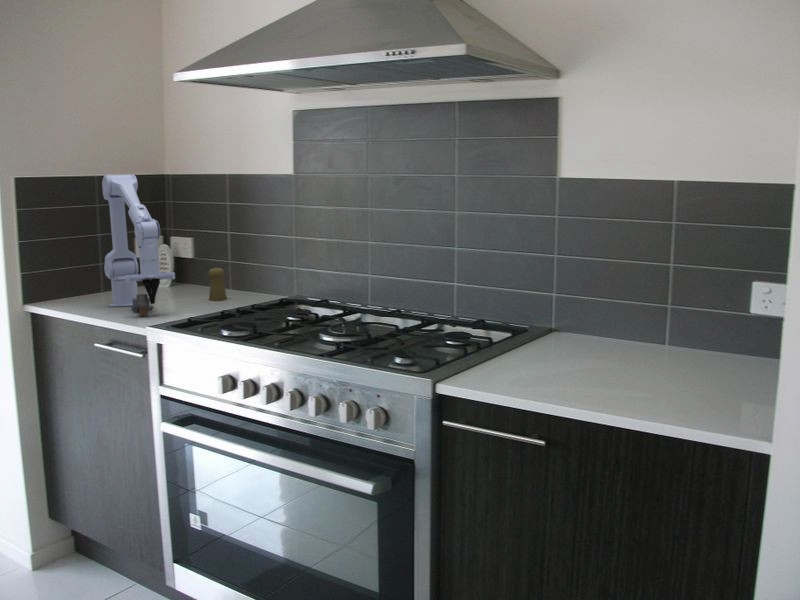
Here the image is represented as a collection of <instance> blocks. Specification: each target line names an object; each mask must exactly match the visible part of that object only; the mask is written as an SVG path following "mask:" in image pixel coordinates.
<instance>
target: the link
mask: <svg viewBox="0 0 800 600" xmlns="http://www.w3.org/2000/svg"><path fill="white" fill-rule="evenodd" d="M136 296H137V308H139V311H138V315H139V316H146V315H147V316H148V310H147V308H148V306H149V305H150V302H148V298H147V297H148V293H140V294H138V295H136Z"/></svg>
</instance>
